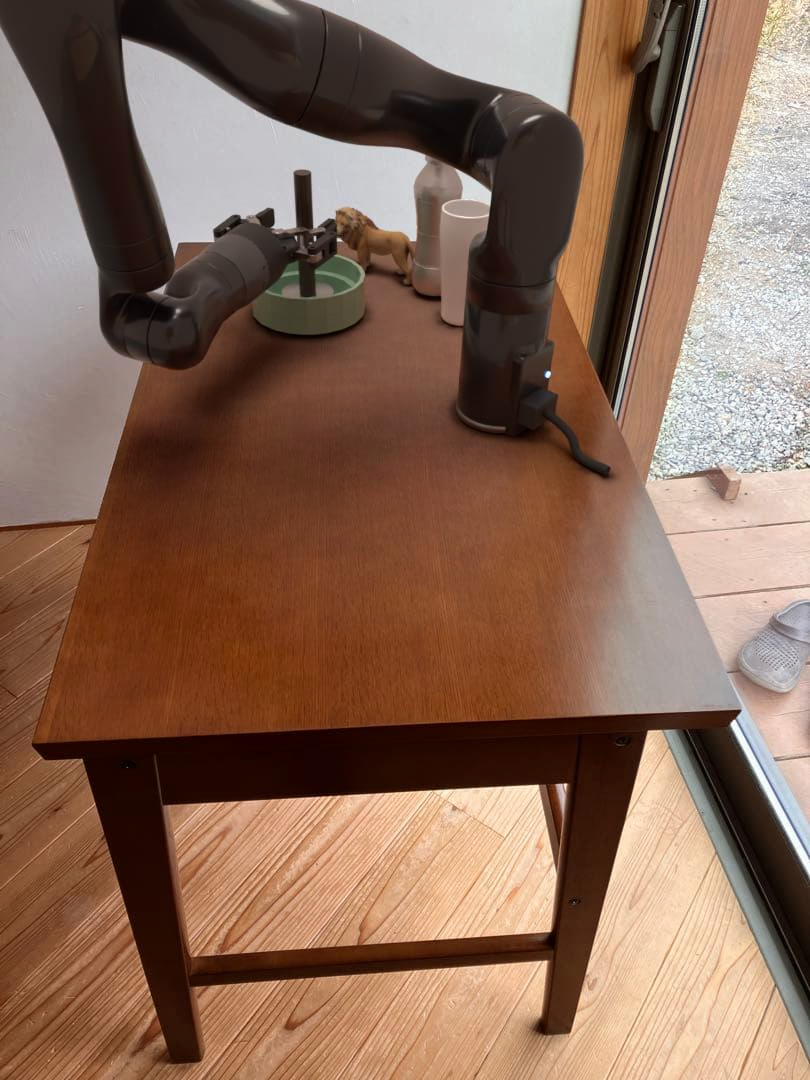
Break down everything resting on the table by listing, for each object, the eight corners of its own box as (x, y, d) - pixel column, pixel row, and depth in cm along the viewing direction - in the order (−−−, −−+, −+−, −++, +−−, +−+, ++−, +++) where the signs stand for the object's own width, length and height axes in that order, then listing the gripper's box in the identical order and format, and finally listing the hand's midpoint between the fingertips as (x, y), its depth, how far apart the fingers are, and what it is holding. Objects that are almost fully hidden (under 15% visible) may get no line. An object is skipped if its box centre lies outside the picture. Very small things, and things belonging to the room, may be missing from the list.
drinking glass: (426, 322, 119) (431, 211, 110) (448, 303, 124) (455, 195, 114) (472, 334, 117) (481, 221, 107) (492, 314, 122) (503, 204, 112)
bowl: (387, 312, 121) (388, 273, 118) (307, 350, 113) (306, 310, 109) (309, 279, 129) (308, 242, 125) (229, 313, 120) (225, 274, 116)
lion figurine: (328, 272, 131) (326, 211, 125) (342, 259, 135) (341, 199, 129) (422, 289, 127) (424, 227, 122) (433, 275, 131) (436, 214, 126)
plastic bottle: (453, 304, 124) (463, 155, 111) (405, 298, 125) (410, 150, 112) (460, 285, 129) (470, 140, 116) (414, 280, 130) (420, 136, 117)
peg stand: (345, 308, 121) (342, 172, 109) (308, 325, 117) (301, 185, 105) (309, 293, 124) (303, 159, 112) (271, 309, 120) (261, 171, 108)
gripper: (293, 246, 96) (353, 199, 108) (179, 225, 100) (249, 182, 111) (296, 310, 101) (354, 259, 112) (188, 288, 104) (254, 240, 116)
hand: (302, 220), depth 112 cm, fingers open, 8 cm apart
